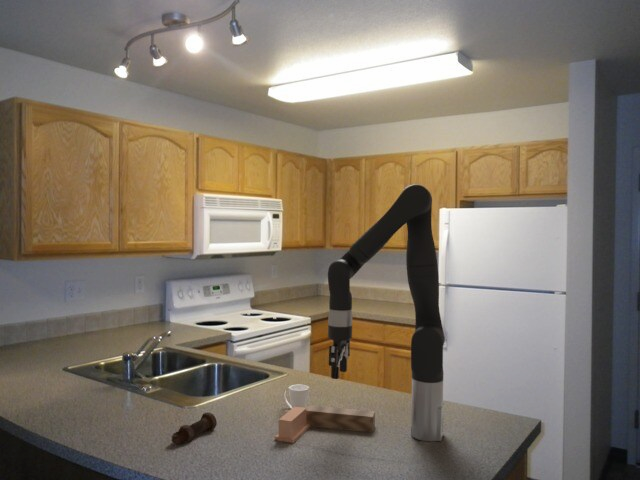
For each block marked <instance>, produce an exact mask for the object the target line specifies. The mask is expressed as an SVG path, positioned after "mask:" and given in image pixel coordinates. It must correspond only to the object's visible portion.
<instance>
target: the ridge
mask: <svg viewBox="0 0 640 480" xmlns="http://www.w3.org/2000/svg"><path fill="white" fill-rule="evenodd" d="M310 427H311V426H310V424H307V423H306V408H302V407H295V406H294V407H293V408H292V409H291V408H290V409H289V410H288V411H287V412H286V413H285V414H283V415H282V416H281V417H280V418H279V419H278V433H277V434H276V435H275V436H274V441H278V442H285V443H291V444H294V443H296V442H297V440H298V439H299V438H301V436H303V435H304V434H305V433H306V432H307V431H308V429H310Z"/></svg>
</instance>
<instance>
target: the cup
mask: <svg viewBox="0 0 640 480" xmlns="http://www.w3.org/2000/svg"><path fill="white" fill-rule="evenodd" d="M287 391H288V394H289V399H290V400H289V401H290V402H289V401H288V399H287ZM309 391H310V386H308V385H307V384H300V383H297V384H292V385H290V386H289V387H286V388H285V389H284V393H283V399H284V401H285V404H286V405H287V406H288V407H289V409H290V410H291V409H292V408H293V407H294V406H295V407H302V408H305V407H306V406H307V405H308V404H307V403H308V399H309V398H308V397H309Z"/></svg>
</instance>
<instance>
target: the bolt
mask: <svg viewBox="0 0 640 480" xmlns="http://www.w3.org/2000/svg"><path fill="white" fill-rule="evenodd" d="M217 422H218V421H217V418H216V416H215V415H214V414H213V413H212V412H204V413H203V414H202V415H201V418H200V419H199V420H198V421H196V422H194V423H192V424H190V425H189V424H183V425H181V426H180V427H179V429H178V431H175V432H174V433H173V434H172V435H171V442H172V443H173V444H174V445H179V444H181V443H189V442H191V441H192V440H193V438H194V436H196V435H198V434H200V433H202V432H203V431H209V432H212V431H214V430H215V429H216V426H217Z"/></svg>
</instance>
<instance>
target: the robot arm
mask: <svg viewBox="0 0 640 480" xmlns="http://www.w3.org/2000/svg"><path fill="white" fill-rule="evenodd" d="M432 197H433V196H432V194H431V192H430V191H429V190H428V188H426V187H425V186H423V185H421V184H417V183H415V184H411V185H407V186H406V187H405V188H403V190H402V192H401V193H400V195H399V196H398V197H397V198H396V200H395V201H394V203H393V204H392V205H391V207H389V209H388V210H387V211H386V212H385V213H384V214H383V215H382V216H381V217H380V219H378V220H377V221H376V222H375V223H374V224H373V225H372V226H371V227H369V228H368V230H366V231H365V232H364V233H363V234H362V235H361V236H360V237H358V239H357V240H355V242H354V243H353V244H352V245H351V246H350V247H349V250H348V251H346V253H345V254H344V255H342V256H341V257H340V258H339V259H337V260H334V261H333V262H331V264H330V265H329V267H328V270H327V282H328V291H329V310H328V318H327V319H328V323H327V337H328V339H329V340H332V345H329V347H328V366H330V367H331V369H330V370H331V374H330V378H331V379H333V380H338V379H339V377H340V376H339V375H340V372H342V373H346V372H347V371H348V360H349V357H350V355H351V351H350V350H351V349H350V348H351V342H350V341H351V340H352V338H353V294H352V292H351V291H350V288H351V287H350V285H351V283H350V282H351V279H352V278H353V277H354V276H355V275H356V274H357V273H358V272H359V271H360V270H361V269H362V268H363V266H364V265H365V264H366V263H368V262H369V261H370V260H372V258H374V256H375V255H377V254H378V252H380V251H381V250H382V249H383V247H385V245H386V244H387V243H388V242H389V241H390V240H391V238H392V237H393V236H394V235H395V234H396V233H397V232H398V231H399V230H400V229H401V228H402V227H403V226H404V225H405V224H406V228H407V229H406V230H407V240H406V241H407V242H406V260H405V261H406V262H405V263H406V276H407V283H408V287H409V291H410V295H411V299H412V301H413V305H414V315H415V325H414V326H415V330H414V332H413V334H412V336H411V342H410V369H411V406H410V407H411V410H410V411H411V412H410V414H411V415H410V416H411V417H410V435H411V437H412V438H414V439H416V440H419V441H423V442H442V440H443V436H444V423H445V422H444V419H445V418H444V417H445V415H444V413H445V411H444V410H445V404H444V367H443V366H444V365H443V364H444V345H445V341H446V339H445V332H444V327H443V323H442V319H441V318H442V317H441V313H440V282H439V278H440V277H439V266H438V258H437V250H436V246H435V240H434V236H433V230H432V229H433V228H432V226H433V225H432V210H433V209H432V207H433V206H432V205H433V198H432Z"/></svg>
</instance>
